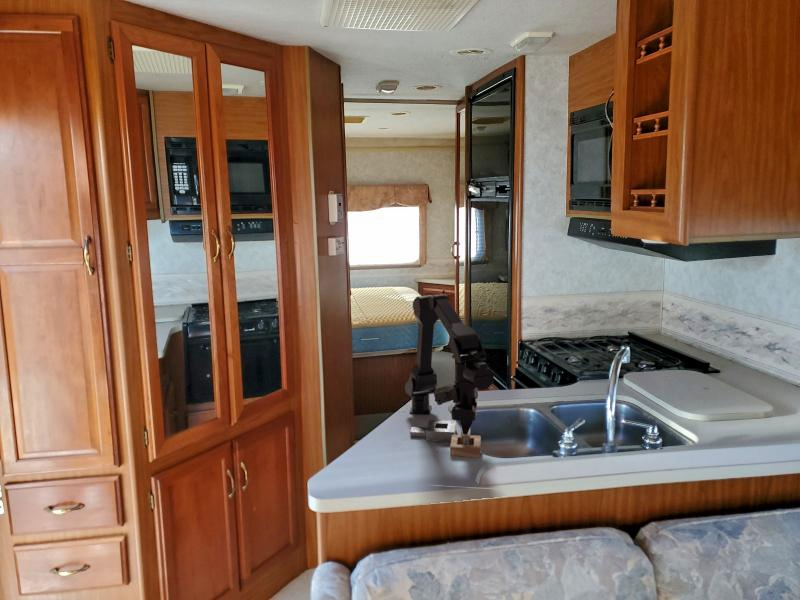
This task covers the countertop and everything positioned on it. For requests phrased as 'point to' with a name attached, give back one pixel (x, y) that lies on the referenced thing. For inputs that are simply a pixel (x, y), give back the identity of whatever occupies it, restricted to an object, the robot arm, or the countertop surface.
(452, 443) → the frame
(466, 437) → the hitch pin
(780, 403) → the countertop surface
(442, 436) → the block
